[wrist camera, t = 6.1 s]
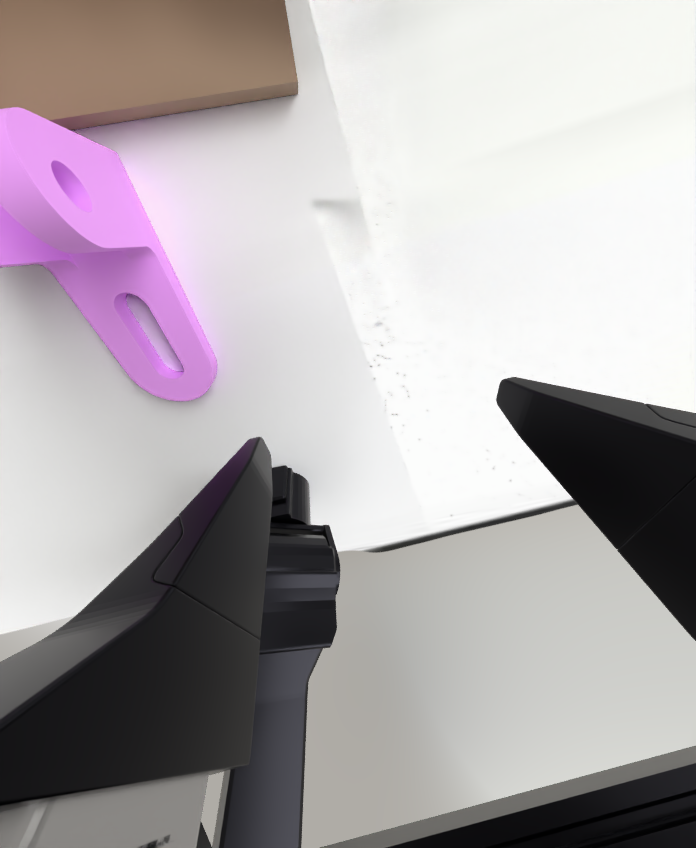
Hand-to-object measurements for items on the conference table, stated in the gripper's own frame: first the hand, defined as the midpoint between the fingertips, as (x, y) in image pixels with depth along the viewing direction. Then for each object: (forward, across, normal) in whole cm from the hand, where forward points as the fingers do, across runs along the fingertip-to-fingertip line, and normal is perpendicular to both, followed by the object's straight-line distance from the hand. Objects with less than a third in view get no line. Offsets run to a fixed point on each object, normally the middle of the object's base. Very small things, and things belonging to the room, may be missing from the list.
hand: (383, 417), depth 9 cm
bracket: (+12, +12, -4) cm, 18 cm away
